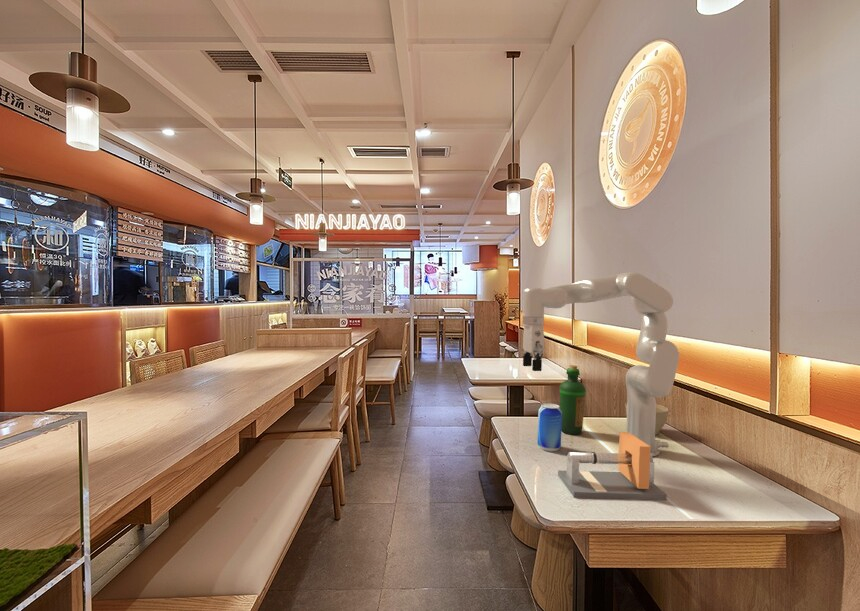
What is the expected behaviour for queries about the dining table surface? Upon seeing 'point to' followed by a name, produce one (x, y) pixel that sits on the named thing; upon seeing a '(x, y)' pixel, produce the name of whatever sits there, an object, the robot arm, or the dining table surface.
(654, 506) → the dining table surface
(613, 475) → the base board
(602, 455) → the pipe
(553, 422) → the beer can
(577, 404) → the bottle
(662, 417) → the planter bowl
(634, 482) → the collar
